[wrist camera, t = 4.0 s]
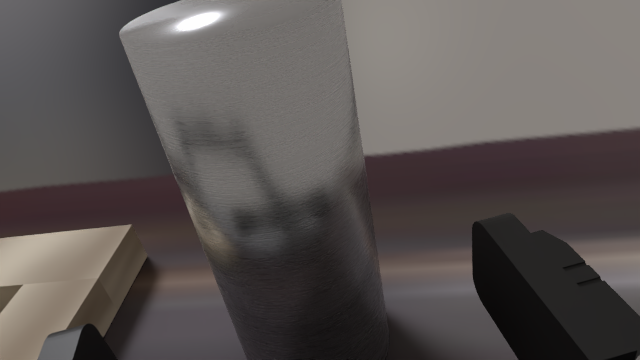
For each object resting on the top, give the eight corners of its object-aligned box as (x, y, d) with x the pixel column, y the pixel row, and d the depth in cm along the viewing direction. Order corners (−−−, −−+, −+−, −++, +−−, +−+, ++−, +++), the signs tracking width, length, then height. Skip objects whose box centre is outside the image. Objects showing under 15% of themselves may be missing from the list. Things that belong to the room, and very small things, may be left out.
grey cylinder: (409, 381, 16) (364, 2, 9) (252, 424, 15) (96, 62, 9) (366, 270, 20) (316, -33, 14) (245, 301, 20) (139, 5, 14)
